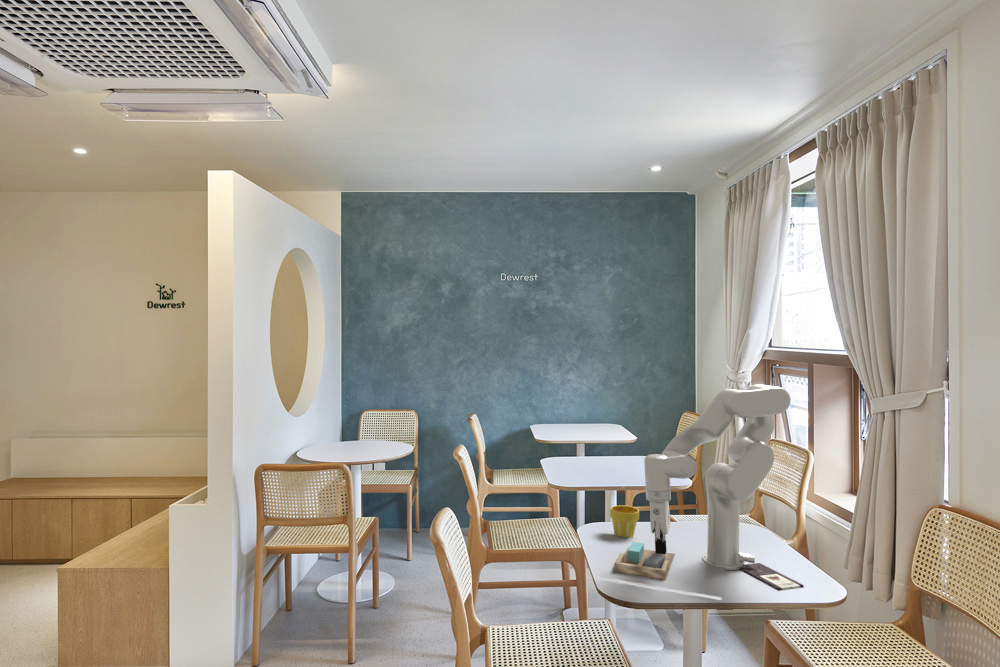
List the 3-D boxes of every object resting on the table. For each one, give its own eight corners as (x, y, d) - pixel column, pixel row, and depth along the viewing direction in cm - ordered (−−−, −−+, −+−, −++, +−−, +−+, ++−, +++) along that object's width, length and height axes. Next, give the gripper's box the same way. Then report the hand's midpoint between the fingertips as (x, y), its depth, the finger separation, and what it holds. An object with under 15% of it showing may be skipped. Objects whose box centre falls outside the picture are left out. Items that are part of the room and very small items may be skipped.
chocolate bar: (759, 562, 190) (803, 585, 172) (759, 565, 190) (803, 588, 172) (735, 565, 187) (777, 588, 170) (735, 568, 187) (777, 591, 170)
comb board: (674, 556, 196) (675, 546, 196) (665, 583, 174) (665, 572, 174) (628, 549, 202) (628, 540, 202) (613, 574, 179) (613, 563, 179)
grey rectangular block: (665, 566, 184) (665, 555, 184) (656, 576, 177) (656, 564, 177) (653, 564, 186) (653, 552, 186) (644, 573, 179) (644, 561, 179)
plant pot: (643, 535, 217) (643, 508, 217) (631, 542, 209) (631, 514, 209) (617, 529, 223) (617, 503, 223) (604, 536, 215) (605, 509, 215)
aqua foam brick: (643, 554, 195) (643, 543, 195) (639, 563, 187) (639, 552, 187) (632, 552, 197) (632, 541, 197) (627, 561, 188) (627, 550, 188)
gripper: (667, 501, 179) (670, 563, 179) (673, 489, 192) (676, 546, 192) (642, 500, 182) (645, 560, 181) (649, 488, 195) (652, 544, 195)
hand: (661, 553), depth 187 cm, fingers closed
